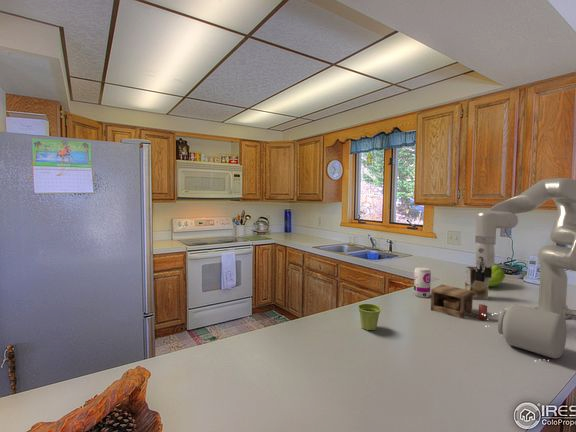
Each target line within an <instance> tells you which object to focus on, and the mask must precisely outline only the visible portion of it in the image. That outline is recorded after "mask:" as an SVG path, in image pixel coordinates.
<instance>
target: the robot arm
mask: <svg viewBox="0 0 576 432" xmlns="http://www.w3.org/2000/svg"><path fill="white" fill-rule="evenodd" d="M550 199H552V201H553V202H554V204H555V206H556V208H557V214H556V217H555V220H554V222H553V225H552V228H551V230H550V234H549V238H550V240H551V241H552V242H554V243H556V244H561V246H560V245H553V244H550V245H545V246H542V247H541V248H539V251H538V254H537V257H538V262H539V268H540V269H539V271H540V272H539V289H538V290H539V291H538V292H539V293H538V306H536V307H533V308H534V309H539V310H543V311H548V312H552V313H557V314H560V315H561V316H563V317H564V319H565V320H567V319H570V318H571V315H573V316H576V309H571V308H569V307H568V305H567V293H568V275H567V272H566V270H567V271H571V272H576V179H574V178H568V177H555V178H554V177H553V178H545V179H541V180H538V182H536V183H534V184H533V185H532V186H530V187H529V188H527V189H526V190H525V191H523V192H521V193H520V194H519V195H516V196H513V197H511V198H508V199H506V200H505V199H504V200H503V201H501V202H498V203H496V204H494V205H493V206H492V207H490V208H489V209H487V210H486V211H480V212H476V216H475V238H474V243H475V244H476V251H475V267H476V266H477V267H476V281H481V282H484V280H485V277H488V278H491V275H492V266H493V265H494V264H495V258H496V257H495V245H496V243H497V230H498V229H501V230H502V229H503V230H512V229H513V228H515V227H516V226H517V225H518V223H519V217H518V216H517V215H518V214H524V213H528V212H532V211H534V210H536V209H538V208H539V207H541V206H542V205H543V204H545V203H546V202H548V201H549V200H550ZM562 245H567V246H570V247H566V246H562Z"/></svg>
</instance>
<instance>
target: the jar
mask: <svg viewBox="0 0 576 432" xmlns="http://www.w3.org/2000/svg"><path fill="white" fill-rule="evenodd" d="M534 308H535V307H531V306H530V307H529V306H524V305H520V304H512V305H510V306H509V307H507V308H506V309H502V310H501V311H500V312H499V315H498V320H497V331H498V333H499V334H500V335H502V337H503V338H504V341H505V342H506V344H508V345H510V346H512V347H515V348H518V349H520V350H521V349H522V350H524V351H528V352H531V353H535V354H537V355H541V356H543V357H548V358H550V359H551V358H552V359H555V360H556V359H559V358H560V357H561V356H562V355H563V353H564V351H565V347H566V344H567V343H566V341H567V335H568V331H567V329H568V328H567V326H568V325H567V321H566V319H564V317H563V316H561V315H560V314H557V313H552V312H548V311H543V310H539V309H534ZM495 314H496V315H497V313H496V312H494V314H493V313H492V314H491V315H492V316H494V315H495ZM482 315H483V314H482ZM484 316H486V315H484ZM487 320H488V321H489V318H487ZM487 320H486V321H487ZM488 327H490V325H488ZM485 328H487V325H485ZM550 359H548V360H547V362H549V360H550ZM539 361H541V359H539ZM543 361H546V360H545V359H543ZM534 362H537V360H534Z"/></svg>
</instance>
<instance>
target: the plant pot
mask: <svg viewBox="0 0 576 432" xmlns="http://www.w3.org/2000/svg"><path fill="white" fill-rule="evenodd" d="M357 308H358V310H359V311H358V312H359V316H360V325H361V328H362V329H363V330H365V329H366V330H365V331H368V330H373V331H376V330H377V329H378V328H377V327H378V323H379V317H380V316H379V315H380V314H381V311H382V308H381V306H379V305H377V304H374V303H367V302H366V303H360V304H359V305H357Z"/></svg>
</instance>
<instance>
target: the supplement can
mask: <svg viewBox="0 0 576 432" xmlns="http://www.w3.org/2000/svg"><path fill="white" fill-rule="evenodd" d="M413 273H414V274H413V275H414V276H413V278H414V279H413V295H415V297H418V298H422V299H423V298H425V299H426V298H429V297H431V284H432V283H431V280H432V279H431V278H432V272H431V269H430V268H428V267H424V266H423V267H422V266H416V267H415V269H414V272H413Z"/></svg>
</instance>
